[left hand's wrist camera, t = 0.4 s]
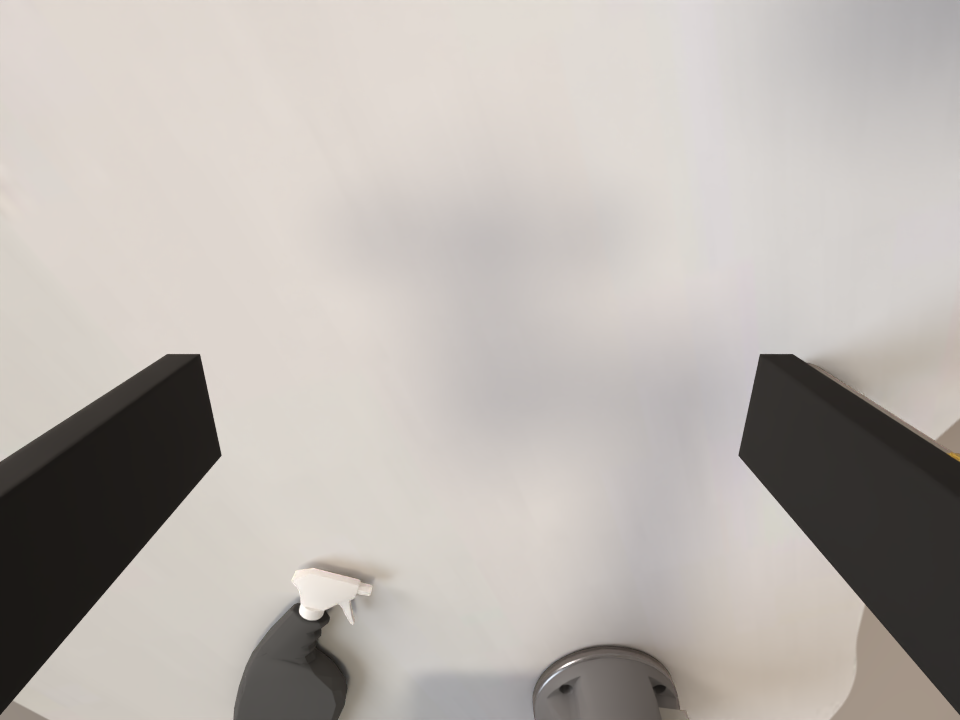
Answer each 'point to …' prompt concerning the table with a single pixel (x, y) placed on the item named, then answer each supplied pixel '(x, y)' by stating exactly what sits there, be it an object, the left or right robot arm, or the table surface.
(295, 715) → the spray bottle
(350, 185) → the table surface
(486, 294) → the table surface
